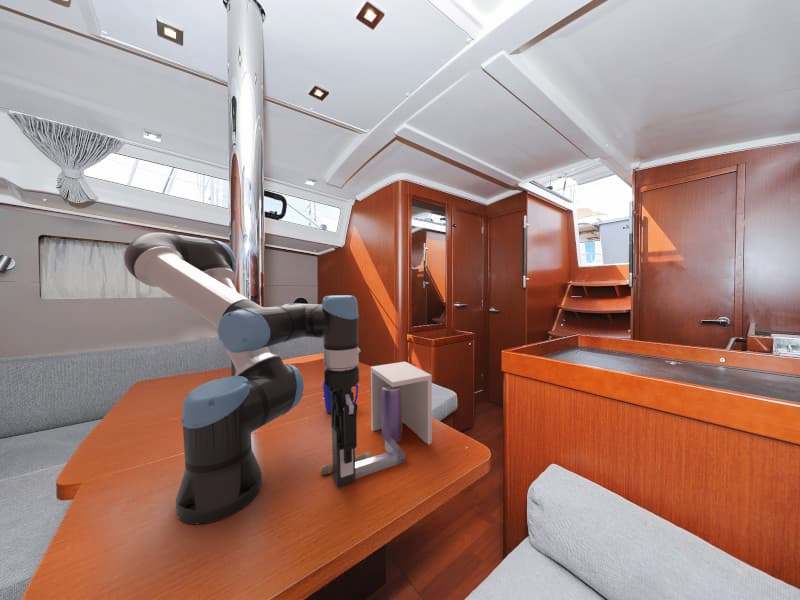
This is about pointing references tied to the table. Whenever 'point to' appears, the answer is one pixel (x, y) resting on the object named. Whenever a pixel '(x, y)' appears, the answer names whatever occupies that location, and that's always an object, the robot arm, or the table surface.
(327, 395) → the mug
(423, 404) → the corner shelf
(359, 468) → the grey angled piece
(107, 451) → the table surface
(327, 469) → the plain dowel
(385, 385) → the beverage can
